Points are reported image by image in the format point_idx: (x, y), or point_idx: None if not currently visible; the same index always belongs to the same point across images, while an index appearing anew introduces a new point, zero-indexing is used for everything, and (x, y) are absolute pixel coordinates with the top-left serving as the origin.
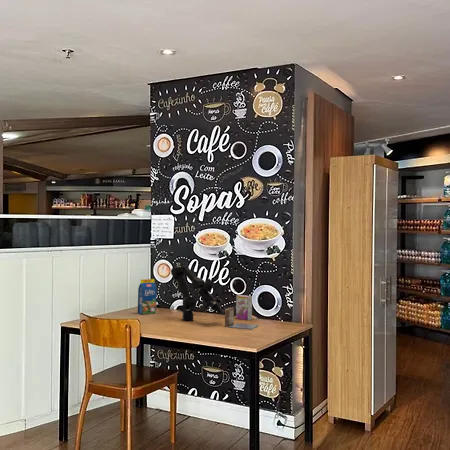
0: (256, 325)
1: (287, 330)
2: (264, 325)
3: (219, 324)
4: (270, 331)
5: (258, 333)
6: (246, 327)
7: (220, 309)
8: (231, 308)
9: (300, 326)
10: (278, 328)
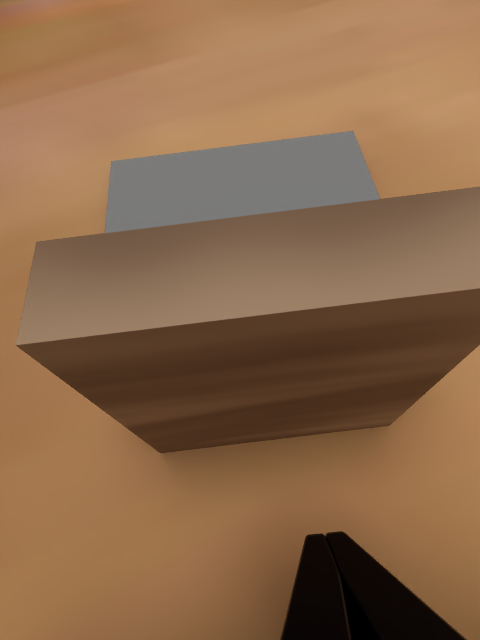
0: (150, 164)
1: (214, 6)
2: (61, 151)
3: (251, 621)
4: (324, 40)
5: (470, 53)
6: (325, 178)
7: (384, 618)
8: (202, 237)
9: (15, 13)
10: (164, 52)
